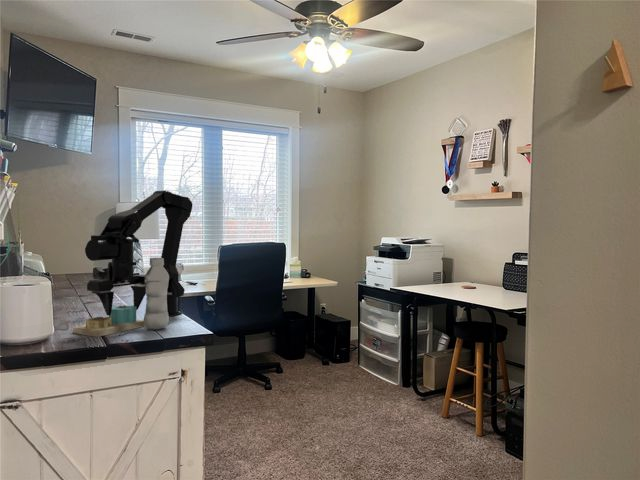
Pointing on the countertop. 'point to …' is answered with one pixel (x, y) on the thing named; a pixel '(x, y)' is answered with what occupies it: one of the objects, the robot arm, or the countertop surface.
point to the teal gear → (123, 314)
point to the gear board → (105, 326)
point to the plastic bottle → (156, 295)
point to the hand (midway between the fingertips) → (122, 312)
